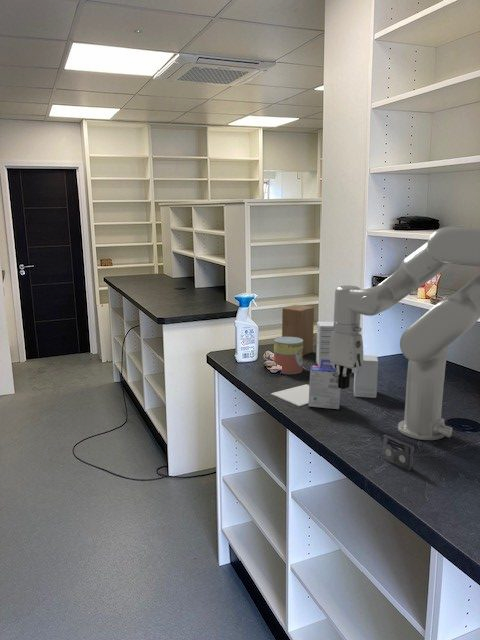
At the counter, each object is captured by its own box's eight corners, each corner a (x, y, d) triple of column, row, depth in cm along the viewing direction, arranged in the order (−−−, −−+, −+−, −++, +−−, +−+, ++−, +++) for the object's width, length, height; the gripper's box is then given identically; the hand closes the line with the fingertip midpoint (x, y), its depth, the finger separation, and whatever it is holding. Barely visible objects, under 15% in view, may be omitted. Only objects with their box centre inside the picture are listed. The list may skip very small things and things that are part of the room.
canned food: (295, 375, 193) (296, 344, 191) (268, 371, 199) (268, 341, 197) (307, 368, 203) (307, 338, 201) (281, 364, 208) (281, 335, 206)
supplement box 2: (376, 398, 170) (378, 361, 167) (353, 396, 171) (355, 360, 169) (375, 390, 177) (377, 355, 174) (353, 389, 178) (355, 354, 176)
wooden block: (281, 353, 225) (281, 307, 221) (294, 348, 233) (295, 304, 229) (300, 356, 219) (301, 310, 215) (313, 352, 226) (314, 307, 222)
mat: (335, 396, 171) (335, 395, 171) (298, 406, 162) (299, 405, 162) (306, 385, 183) (306, 384, 183) (270, 394, 174) (271, 393, 173)
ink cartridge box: (339, 403, 165) (343, 359, 162) (340, 410, 160) (343, 365, 156) (308, 400, 167) (311, 357, 163) (307, 407, 161) (310, 362, 158)
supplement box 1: (342, 367, 203) (343, 326, 200) (318, 367, 203) (319, 326, 200) (337, 361, 213) (339, 321, 209) (315, 361, 213) (316, 321, 209)
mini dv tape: (412, 469, 123) (414, 445, 121) (408, 471, 122) (410, 447, 121) (385, 456, 129) (386, 434, 128) (381, 458, 128) (382, 435, 127)
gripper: (375, 331, 148) (371, 392, 151) (336, 322, 159) (334, 378, 163) (357, 334, 143) (353, 397, 147) (319, 325, 155) (317, 383, 159)
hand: (343, 387), depth 155 cm, fingers closed
